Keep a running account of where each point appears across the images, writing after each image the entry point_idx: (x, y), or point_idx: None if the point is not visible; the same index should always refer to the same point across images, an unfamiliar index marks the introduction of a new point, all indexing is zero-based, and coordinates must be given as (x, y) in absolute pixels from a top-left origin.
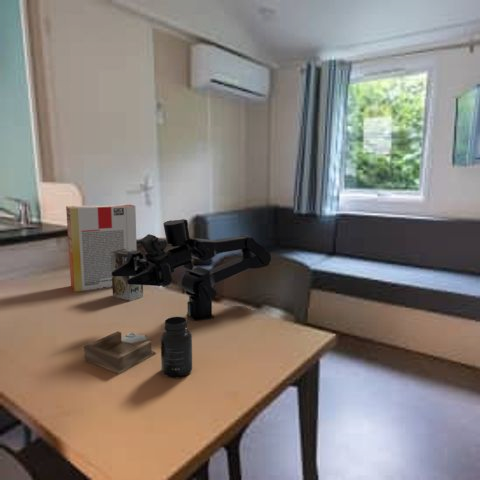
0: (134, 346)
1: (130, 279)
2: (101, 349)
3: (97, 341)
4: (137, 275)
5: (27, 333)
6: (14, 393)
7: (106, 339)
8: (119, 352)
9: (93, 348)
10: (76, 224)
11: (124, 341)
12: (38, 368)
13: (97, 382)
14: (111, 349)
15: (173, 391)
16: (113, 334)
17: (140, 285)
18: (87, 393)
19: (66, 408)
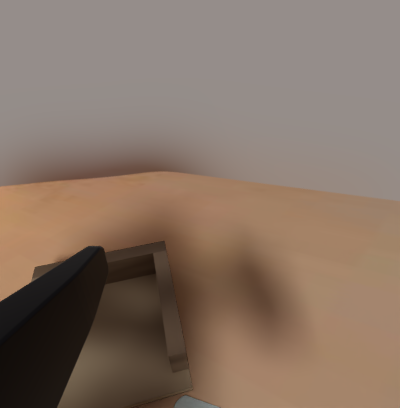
0: (117, 396)
1: (73, 259)
2: (113, 260)
3: (163, 271)
4: (10, 304)
5: (397, 229)
6: (153, 176)
7: (159, 295)
8: (124, 334)
9: (134, 249)
10: None
11: (197, 405)
12: (202, 206)
13: (70, 249)
14: (159, 326)
15: None
16: (172, 326)
17: None
18: (58, 228)
19: (57, 201)
